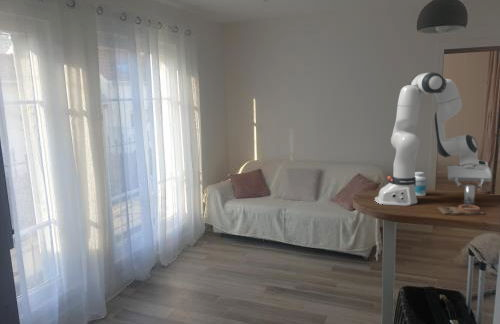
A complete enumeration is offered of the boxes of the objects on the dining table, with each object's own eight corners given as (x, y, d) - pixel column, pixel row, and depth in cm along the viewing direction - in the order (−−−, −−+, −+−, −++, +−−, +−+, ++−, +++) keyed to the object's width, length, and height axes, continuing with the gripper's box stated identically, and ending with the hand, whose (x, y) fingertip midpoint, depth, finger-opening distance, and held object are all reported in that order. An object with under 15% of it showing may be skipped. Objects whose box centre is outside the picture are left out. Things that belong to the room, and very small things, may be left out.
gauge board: (444, 214, 180) (444, 209, 179) (437, 208, 190) (437, 204, 189) (484, 214, 177) (484, 209, 176) (475, 208, 187) (475, 204, 186)
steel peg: (466, 207, 190) (467, 186, 188) (462, 205, 194) (463, 184, 192) (475, 207, 189) (476, 186, 187) (471, 204, 193) (472, 184, 192)
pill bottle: (414, 192, 223) (414, 170, 221) (427, 194, 218) (427, 172, 216) (410, 195, 217) (410, 173, 215) (423, 197, 213) (424, 174, 211)
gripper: (447, 161, 203) (447, 182, 196) (491, 162, 194) (492, 184, 187) (446, 167, 208) (446, 188, 201) (489, 169, 198) (491, 191, 191)
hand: (469, 186), depth 194 cm, fingers open, 8 cm apart
